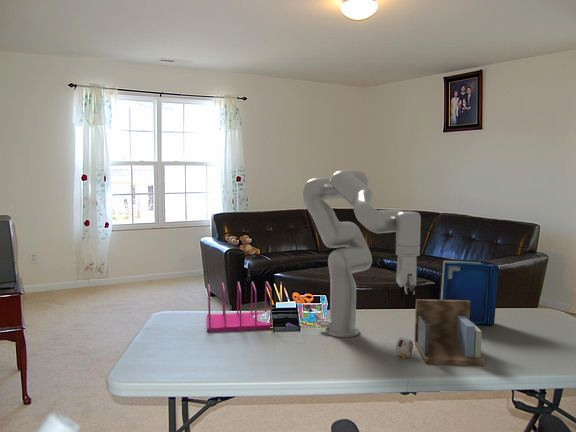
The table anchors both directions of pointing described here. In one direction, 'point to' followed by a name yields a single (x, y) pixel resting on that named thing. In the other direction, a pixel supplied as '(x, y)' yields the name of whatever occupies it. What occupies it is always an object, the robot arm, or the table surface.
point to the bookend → (423, 335)
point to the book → (471, 287)
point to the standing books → (468, 337)
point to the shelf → (443, 331)
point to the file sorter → (237, 315)
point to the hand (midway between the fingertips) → (406, 302)
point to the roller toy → (404, 347)
